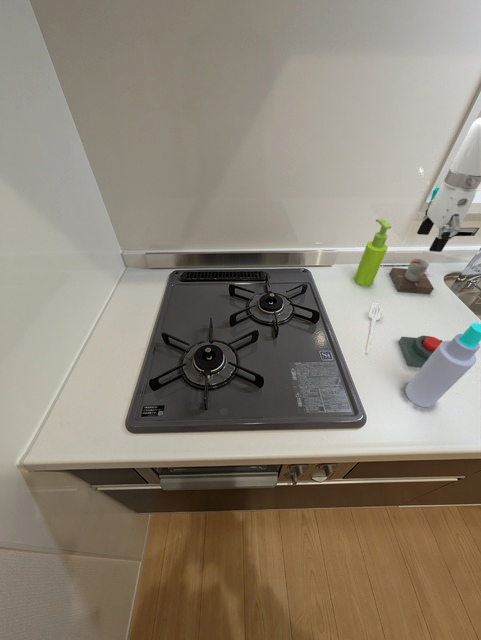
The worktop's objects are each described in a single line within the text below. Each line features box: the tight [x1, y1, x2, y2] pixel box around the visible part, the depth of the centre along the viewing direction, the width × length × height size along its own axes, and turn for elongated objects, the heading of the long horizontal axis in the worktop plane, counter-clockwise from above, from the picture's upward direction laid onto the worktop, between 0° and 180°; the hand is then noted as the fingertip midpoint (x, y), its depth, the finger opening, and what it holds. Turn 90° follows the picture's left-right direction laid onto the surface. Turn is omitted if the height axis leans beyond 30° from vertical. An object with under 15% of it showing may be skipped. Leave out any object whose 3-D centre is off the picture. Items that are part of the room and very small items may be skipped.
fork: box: [365, 301, 383, 355], centre depth 76 cm, size 3×20×2 cm, turn 154°
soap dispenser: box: [353, 218, 392, 287], centre depth 86 cm, size 6×7×20 cm
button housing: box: [398, 335, 444, 369], centre depth 69 cm, size 10×8×4 cm
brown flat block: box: [388, 267, 434, 295], centre depth 91 cm, size 10×10×3 cm
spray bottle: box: [404, 322, 481, 408], centre depth 54 cm, size 6×6×22 cm
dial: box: [404, 258, 429, 282], centre depth 88 cm, size 5×5×6 cm
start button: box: [422, 335, 441, 352], centre depth 67 cm, size 4×4×2 cm
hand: (428, 242), depth 80 cm, fingers open, 9 cm apart
